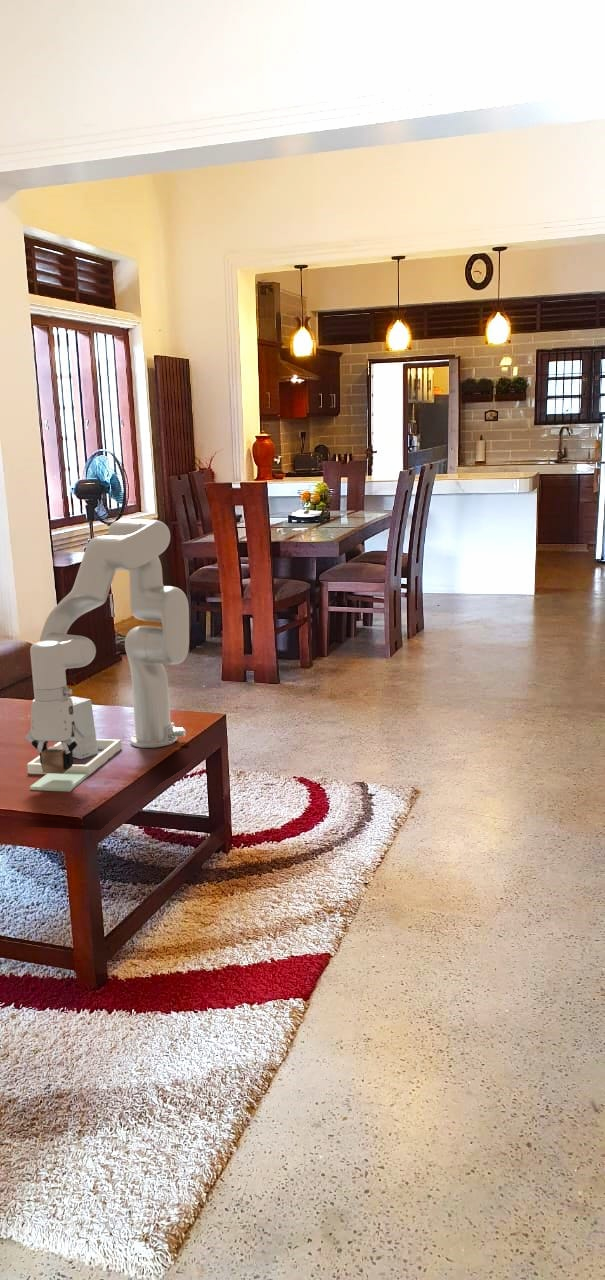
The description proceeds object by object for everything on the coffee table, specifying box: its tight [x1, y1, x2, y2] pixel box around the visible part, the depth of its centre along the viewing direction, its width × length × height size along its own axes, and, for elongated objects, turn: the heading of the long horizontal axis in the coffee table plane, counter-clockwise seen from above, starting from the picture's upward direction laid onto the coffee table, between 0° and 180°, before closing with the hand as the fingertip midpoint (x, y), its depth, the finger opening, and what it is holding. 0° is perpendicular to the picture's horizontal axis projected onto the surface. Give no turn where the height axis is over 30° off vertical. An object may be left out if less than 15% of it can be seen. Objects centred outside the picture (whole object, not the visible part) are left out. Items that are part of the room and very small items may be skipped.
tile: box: [29, 773, 89, 792], centre depth 229 cm, size 10×10×1 cm
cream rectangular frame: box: [26, 738, 122, 777], centre depth 245 cm, size 16×21×2 cm
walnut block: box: [41, 745, 71, 774], centre depth 228 cm, size 5×5×5 cm
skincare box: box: [61, 695, 99, 760], centre depth 248 cm, size 8×6×15 cm
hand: (57, 766), depth 228 cm, fingers closed on walnut block, 5 cm apart
